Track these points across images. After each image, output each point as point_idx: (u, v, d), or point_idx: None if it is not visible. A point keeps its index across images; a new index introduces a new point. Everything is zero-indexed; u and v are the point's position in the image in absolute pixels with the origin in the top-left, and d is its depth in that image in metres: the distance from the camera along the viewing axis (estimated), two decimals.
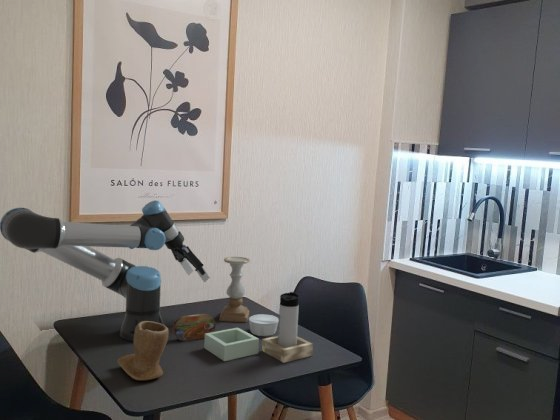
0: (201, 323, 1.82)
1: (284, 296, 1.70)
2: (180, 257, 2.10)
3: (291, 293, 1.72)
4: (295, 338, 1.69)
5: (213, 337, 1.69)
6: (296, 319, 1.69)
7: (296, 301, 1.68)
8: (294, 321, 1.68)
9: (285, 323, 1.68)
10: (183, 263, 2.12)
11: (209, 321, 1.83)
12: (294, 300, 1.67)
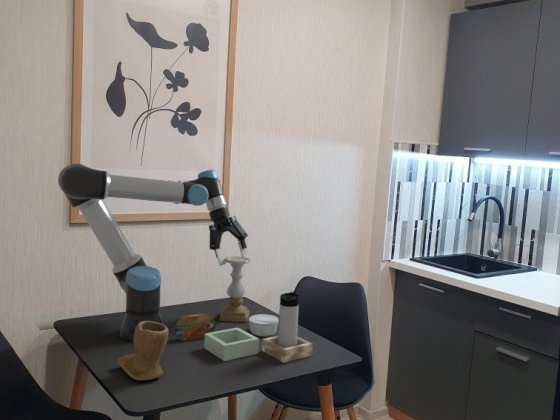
0: (201, 323, 1.82)
1: (284, 296, 1.70)
2: (217, 241, 2.03)
3: (291, 293, 1.72)
4: (295, 338, 1.69)
5: (213, 337, 1.69)
6: (296, 319, 1.69)
7: (296, 301, 1.68)
8: (294, 321, 1.68)
9: (285, 323, 1.68)
10: (218, 251, 2.04)
11: (209, 321, 1.83)
12: (294, 300, 1.67)
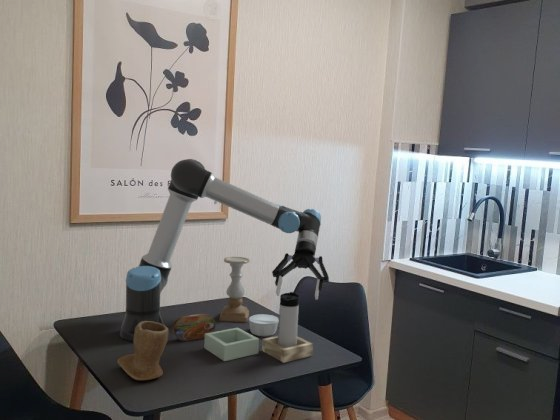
0: (201, 323, 1.82)
1: (284, 296, 1.70)
2: (286, 271, 1.85)
3: (291, 293, 1.72)
4: (295, 338, 1.69)
5: (213, 337, 1.69)
6: (296, 319, 1.69)
7: (296, 301, 1.68)
8: (294, 321, 1.68)
9: (285, 323, 1.68)
10: (281, 279, 1.83)
11: (209, 321, 1.83)
12: (294, 300, 1.67)
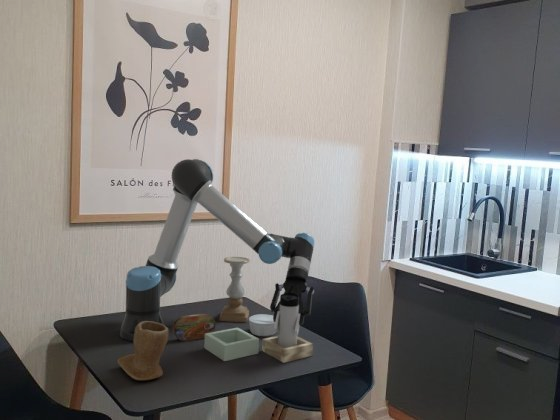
0: (201, 323, 1.82)
1: (284, 296, 1.70)
2: None
3: (291, 293, 1.72)
4: (295, 338, 1.69)
5: (213, 337, 1.69)
6: (296, 319, 1.69)
7: (296, 301, 1.68)
8: (294, 321, 1.68)
9: (285, 323, 1.68)
10: None
11: (209, 321, 1.83)
12: (294, 300, 1.67)
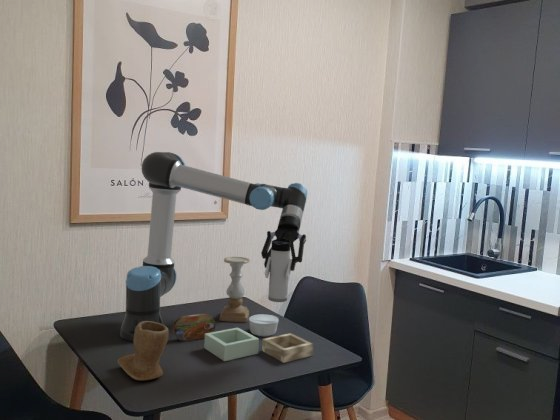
0: (201, 323, 1.82)
1: (276, 241, 1.68)
2: None
3: (283, 239, 1.70)
4: (286, 284, 1.67)
5: (213, 337, 1.69)
6: (287, 264, 1.67)
7: (288, 246, 1.66)
8: (285, 266, 1.66)
9: (276, 268, 1.66)
10: None
11: (209, 321, 1.83)
12: (286, 245, 1.65)
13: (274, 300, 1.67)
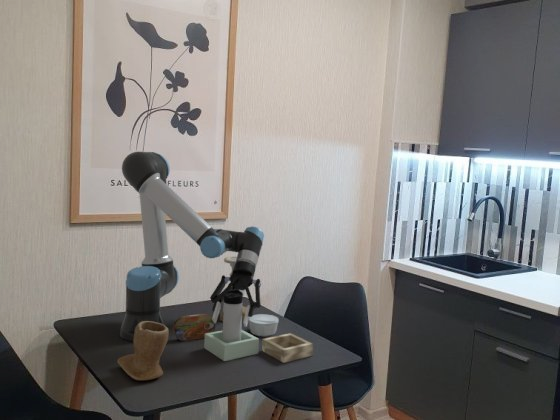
0: (201, 323, 1.82)
1: (228, 294, 1.70)
2: None
3: (236, 291, 1.72)
4: (238, 336, 1.69)
5: (213, 337, 1.69)
6: (239, 317, 1.69)
7: (239, 299, 1.68)
8: (237, 319, 1.68)
9: (228, 321, 1.67)
10: (219, 305, 1.72)
11: (209, 321, 1.83)
12: (237, 298, 1.67)
13: None
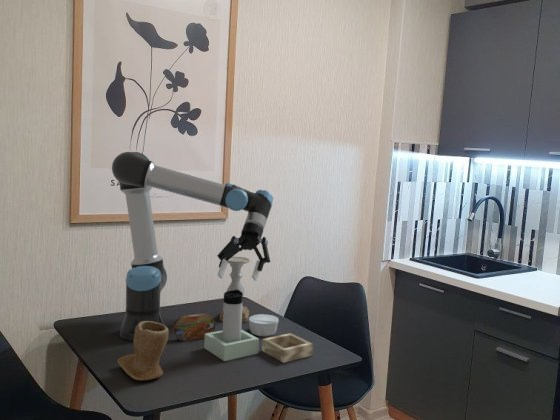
0: (201, 323, 1.82)
1: (228, 294, 1.70)
2: (231, 253, 1.86)
3: (236, 291, 1.72)
4: (238, 336, 1.69)
5: (213, 337, 1.69)
6: (239, 317, 1.69)
7: (239, 299, 1.68)
8: (237, 319, 1.68)
9: (228, 321, 1.67)
10: (225, 261, 1.85)
11: (209, 321, 1.83)
12: (237, 298, 1.67)
13: None
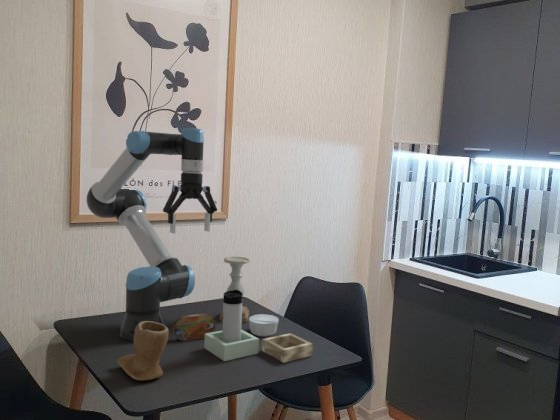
0: (201, 323, 1.82)
1: (228, 294, 1.70)
2: (203, 205, 1.87)
3: (235, 291, 1.72)
4: (238, 336, 1.69)
5: (213, 337, 1.69)
6: (239, 317, 1.68)
7: (239, 299, 1.68)
8: (237, 319, 1.68)
9: (228, 321, 1.67)
10: (205, 215, 1.88)
11: (209, 321, 1.83)
12: (237, 298, 1.67)
13: None
